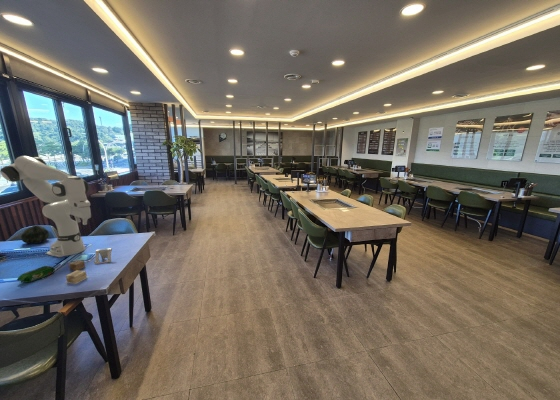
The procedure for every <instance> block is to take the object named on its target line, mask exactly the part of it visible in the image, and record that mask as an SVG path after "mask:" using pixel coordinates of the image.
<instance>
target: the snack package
mask: <svg viewBox="0 0 560 400" xmlns="http://www.w3.org/2000/svg"><path fill="white" fill-rule="evenodd" d="M55 269H56V268H54V266H50V265H49V266H48V265H43V266H41V267H38V268H35V269H32V270H29V271H27V272H24V273H22V274H20V275H19V276H18V277H17V279H16V280H17V281H19V282H20V283H31V282H34V281H37V280H40V278H41V279H42V278H45V277H48V276H50V275H52V274H53V273H54V272H55Z"/></svg>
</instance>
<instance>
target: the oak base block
mask: <svg viewBox="0 0 560 400" xmlns="http://www.w3.org/2000/svg"><path fill="white" fill-rule="evenodd" d="M86 277H88V276H87V272H86V271H85V270H76V271H73V272H70V273H68V274H66V275H65V278H66V282H71V283H70V284H74V283H77V284H79V283H80V282H79V281H81V280H82V281H84V280H86V279H87V278H86ZM85 278H86V279H85ZM83 279H84V280H83ZM82 281H81V282H82ZM78 282H79V283H78Z"/></svg>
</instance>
